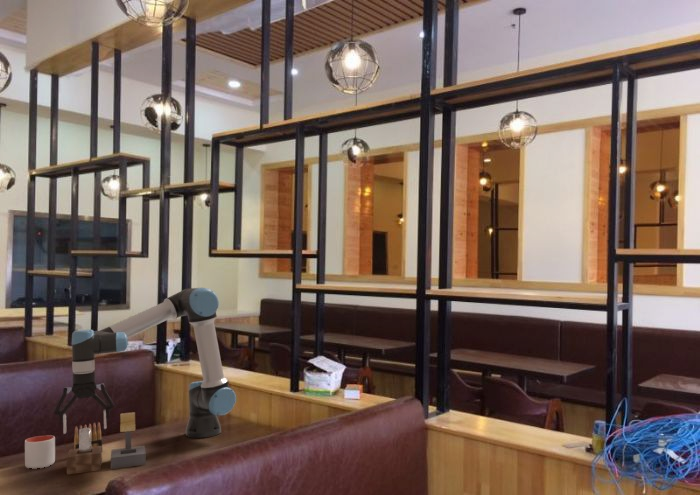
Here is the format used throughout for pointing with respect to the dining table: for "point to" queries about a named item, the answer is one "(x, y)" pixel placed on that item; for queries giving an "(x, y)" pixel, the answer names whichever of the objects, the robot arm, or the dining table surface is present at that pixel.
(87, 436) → the peg
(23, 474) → the dining table surface
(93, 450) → the frame
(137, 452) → the socket block
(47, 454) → the cup
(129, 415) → the latch
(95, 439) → the ammunition clip
